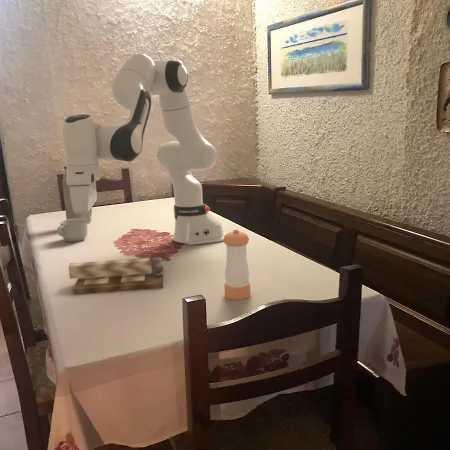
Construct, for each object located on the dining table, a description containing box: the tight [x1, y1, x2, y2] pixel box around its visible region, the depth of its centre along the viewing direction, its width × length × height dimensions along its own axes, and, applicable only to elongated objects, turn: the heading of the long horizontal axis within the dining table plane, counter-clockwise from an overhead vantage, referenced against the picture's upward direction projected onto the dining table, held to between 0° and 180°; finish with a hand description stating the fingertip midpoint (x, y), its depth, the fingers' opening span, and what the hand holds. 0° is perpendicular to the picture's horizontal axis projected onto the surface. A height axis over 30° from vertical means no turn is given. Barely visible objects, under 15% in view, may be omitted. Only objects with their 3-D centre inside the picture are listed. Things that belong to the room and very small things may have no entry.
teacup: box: [56, 219, 89, 243], centre depth 196 cm, size 14×11×8 cm
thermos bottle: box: [61, 166, 84, 220], centre depth 215 cm, size 8×8×28 cm
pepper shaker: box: [222, 229, 251, 301], centre depth 134 cm, size 7×7×19 cm
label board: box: [72, 265, 164, 295], centre depth 150 cm, size 26×16×2 cm, turn 97°
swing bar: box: [68, 256, 164, 280], centre depth 149 cm, size 28×4×4 cm, turn 97°
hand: (88, 222), depth 138 cm, fingers closed
